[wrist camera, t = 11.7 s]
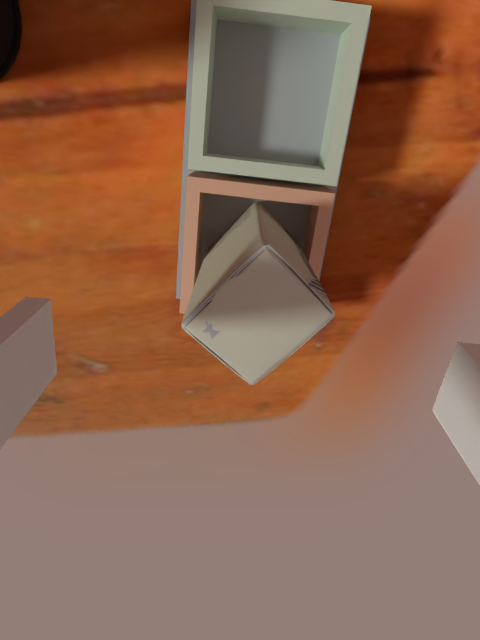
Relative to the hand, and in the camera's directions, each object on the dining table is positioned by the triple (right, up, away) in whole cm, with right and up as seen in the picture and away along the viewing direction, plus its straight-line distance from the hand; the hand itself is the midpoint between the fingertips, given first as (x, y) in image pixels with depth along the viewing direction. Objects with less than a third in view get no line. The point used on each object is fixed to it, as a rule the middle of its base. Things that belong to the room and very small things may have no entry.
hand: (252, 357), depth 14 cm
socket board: (+1, +11, +14) cm, 18 cm away
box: (+1, +6, +15) cm, 17 cm away
